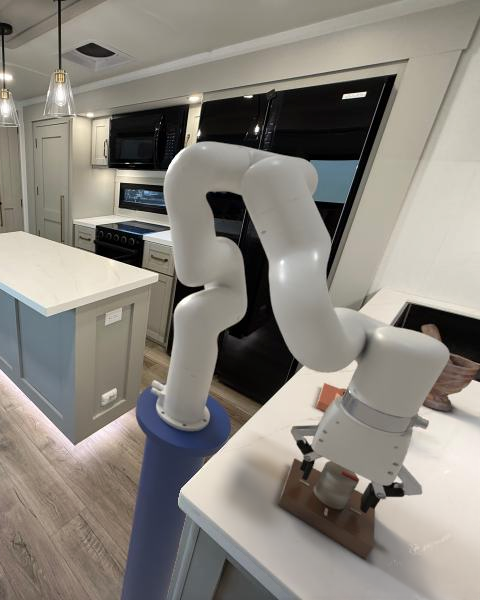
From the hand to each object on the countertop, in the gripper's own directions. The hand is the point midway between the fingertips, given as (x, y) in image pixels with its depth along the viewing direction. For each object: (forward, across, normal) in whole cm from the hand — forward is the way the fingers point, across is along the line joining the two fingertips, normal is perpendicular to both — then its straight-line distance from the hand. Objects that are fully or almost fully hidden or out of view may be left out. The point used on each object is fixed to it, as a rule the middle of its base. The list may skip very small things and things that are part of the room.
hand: (333, 488), depth 52 cm
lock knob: (+2, 0, 0) cm, 2 cm away
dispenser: (+5, -1, -35) cm, 35 cm away
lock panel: (+5, 0, 0) cm, 5 cm away
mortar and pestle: (+5, -15, -55) cm, 57 cm away
